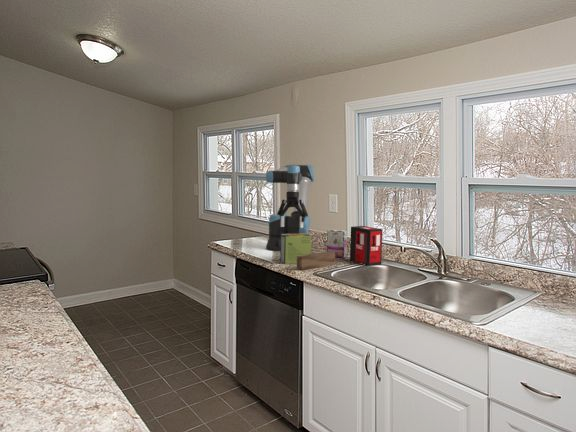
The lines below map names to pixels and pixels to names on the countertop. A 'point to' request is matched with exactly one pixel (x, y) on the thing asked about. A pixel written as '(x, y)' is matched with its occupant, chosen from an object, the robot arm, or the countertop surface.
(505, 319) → the countertop surface
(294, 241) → the protein box
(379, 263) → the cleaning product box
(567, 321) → the countertop surface
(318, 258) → the walnut block
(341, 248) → the candy bar box
